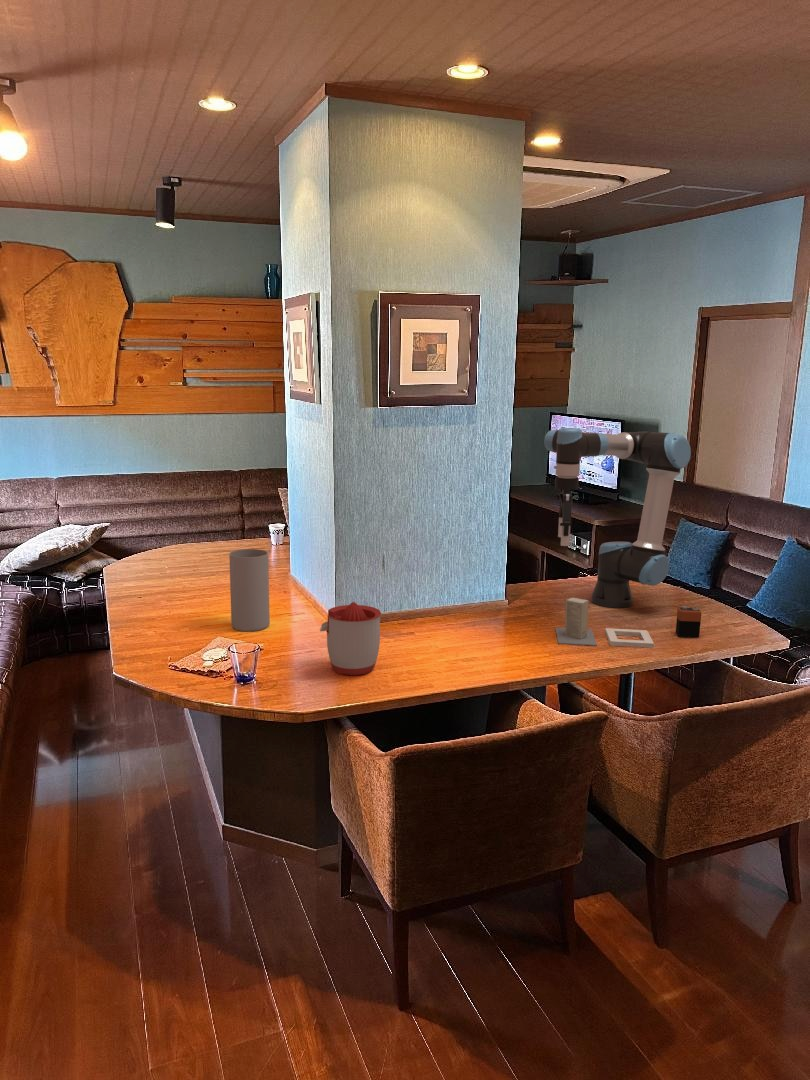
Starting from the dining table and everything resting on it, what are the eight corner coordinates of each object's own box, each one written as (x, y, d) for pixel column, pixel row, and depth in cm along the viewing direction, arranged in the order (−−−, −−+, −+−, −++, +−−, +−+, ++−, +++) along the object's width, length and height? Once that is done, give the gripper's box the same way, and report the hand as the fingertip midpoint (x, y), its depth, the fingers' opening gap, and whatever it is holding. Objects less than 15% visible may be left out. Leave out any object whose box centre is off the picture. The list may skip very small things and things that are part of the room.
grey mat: (555, 628, 273) (555, 627, 273) (591, 630, 272) (591, 629, 271) (558, 644, 257) (558, 642, 257) (596, 646, 256) (596, 644, 256)
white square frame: (605, 632, 270) (605, 628, 269) (646, 634, 268) (646, 630, 268) (610, 645, 257) (610, 641, 256) (653, 648, 255) (654, 643, 255)
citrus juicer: (320, 659, 240) (320, 594, 236) (379, 659, 242) (380, 594, 237) (319, 679, 225) (318, 610, 221) (381, 678, 226) (382, 609, 222)
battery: (675, 633, 270) (677, 604, 268) (696, 634, 270) (698, 605, 268) (678, 637, 266) (680, 608, 264) (699, 638, 266) (702, 609, 263)
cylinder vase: (224, 629, 266) (221, 555, 261) (243, 619, 278) (241, 547, 273) (258, 634, 262) (256, 558, 257) (276, 623, 274) (275, 550, 269)
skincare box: (587, 636, 264) (589, 600, 261) (580, 639, 261) (582, 603, 258) (570, 632, 268) (572, 596, 265) (563, 635, 265) (565, 599, 262)
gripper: (553, 471, 273) (549, 533, 277) (557, 481, 248) (554, 549, 253) (575, 472, 272) (572, 534, 276) (582, 482, 248) (578, 550, 252)
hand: (563, 541), depth 265 cm, fingers open, 13 cm apart
